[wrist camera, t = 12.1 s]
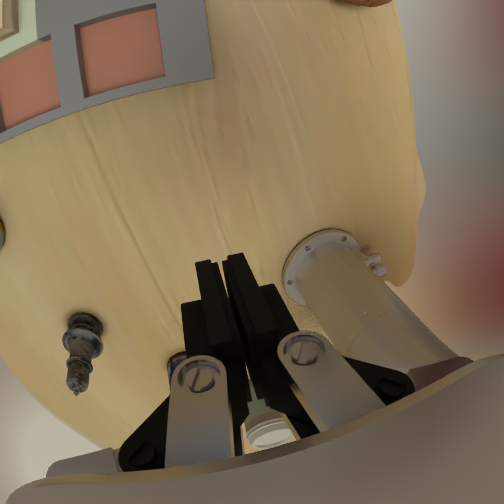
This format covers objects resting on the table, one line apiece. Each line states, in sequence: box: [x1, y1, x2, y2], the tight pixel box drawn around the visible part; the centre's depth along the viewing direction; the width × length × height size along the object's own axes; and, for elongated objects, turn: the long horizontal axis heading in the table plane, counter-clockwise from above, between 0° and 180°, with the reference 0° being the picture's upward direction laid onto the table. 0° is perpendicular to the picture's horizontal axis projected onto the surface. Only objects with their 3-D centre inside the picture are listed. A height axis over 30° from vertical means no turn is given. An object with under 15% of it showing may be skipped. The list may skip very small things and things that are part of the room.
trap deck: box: [0, 0, 214, 143], centre depth 18 cm, size 25×18×6 cm
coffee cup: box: [244, 380, 293, 449], centre depth 50 cm, size 9×9×12 cm
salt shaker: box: [62, 313, 103, 396], centre depth 33 cm, size 6×6×12 cm
